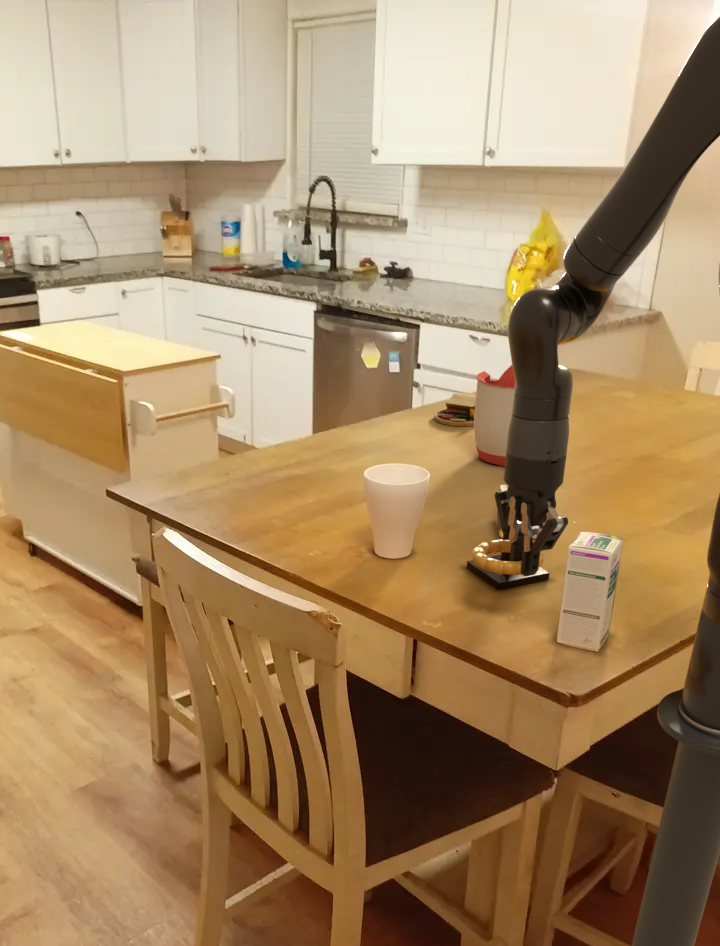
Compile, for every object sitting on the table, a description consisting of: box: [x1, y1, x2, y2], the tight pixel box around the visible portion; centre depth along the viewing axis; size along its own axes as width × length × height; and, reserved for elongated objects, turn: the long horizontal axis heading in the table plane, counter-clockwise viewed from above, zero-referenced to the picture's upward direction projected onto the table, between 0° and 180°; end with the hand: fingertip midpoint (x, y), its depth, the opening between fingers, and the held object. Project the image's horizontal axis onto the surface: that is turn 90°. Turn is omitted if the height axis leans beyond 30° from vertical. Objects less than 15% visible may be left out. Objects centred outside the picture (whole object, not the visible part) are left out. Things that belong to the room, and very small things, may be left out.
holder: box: [465, 506, 550, 591], centre depth 146 cm, size 9×9×11 cm
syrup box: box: [556, 530, 624, 653], centre depth 126 cm, size 6×6×14 cm
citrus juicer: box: [473, 364, 515, 467], centre depth 194 cm, size 16×17×20 cm
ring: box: [471, 539, 544, 575], centre depth 134 cm, size 10×10×2 cm
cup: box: [363, 462, 431, 560], centre depth 154 cm, size 10×10×14 cm
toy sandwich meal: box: [433, 392, 476, 427], centre depth 223 cm, size 12×14×5 cm
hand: (523, 570), depth 131 cm, fingers closed on ring, 2 cm apart
